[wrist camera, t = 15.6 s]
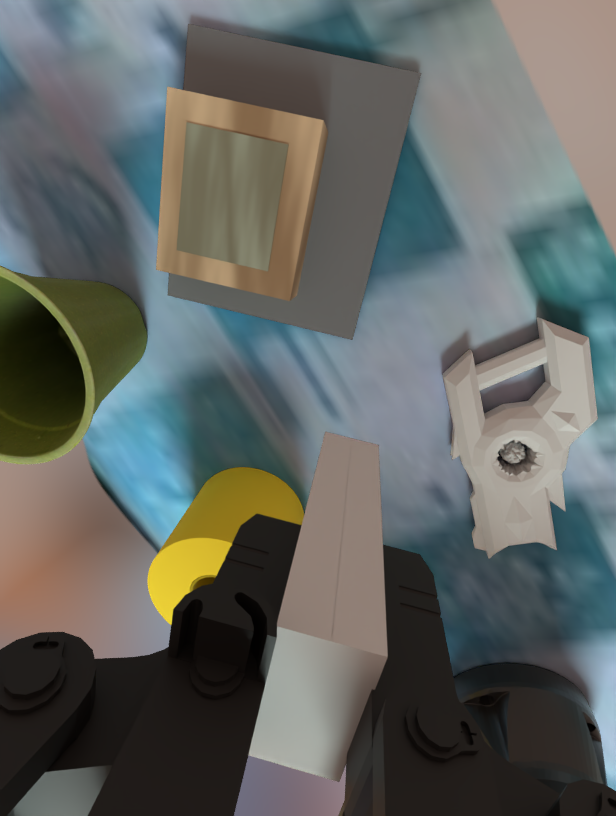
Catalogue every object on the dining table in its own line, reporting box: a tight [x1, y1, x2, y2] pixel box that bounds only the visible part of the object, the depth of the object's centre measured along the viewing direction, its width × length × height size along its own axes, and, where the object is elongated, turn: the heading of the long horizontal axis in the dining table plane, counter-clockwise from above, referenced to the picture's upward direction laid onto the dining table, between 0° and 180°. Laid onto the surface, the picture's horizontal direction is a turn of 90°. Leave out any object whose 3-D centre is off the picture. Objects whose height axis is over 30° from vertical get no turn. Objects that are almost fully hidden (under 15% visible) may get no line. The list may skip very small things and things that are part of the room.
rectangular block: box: [156, 87, 328, 301], centre depth 27 cm, size 3×10×9 cm
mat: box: [168, 24, 421, 340], centre depth 28 cm, size 16×14×1 cm
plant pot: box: [0, 266, 147, 464], centre depth 28 cm, size 12×12×11 cm
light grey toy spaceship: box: [442, 317, 598, 559], centre depth 31 cm, size 18×4×10 cm
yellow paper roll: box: [148, 467, 304, 625], centre depth 34 cm, size 10×10×9 cm
